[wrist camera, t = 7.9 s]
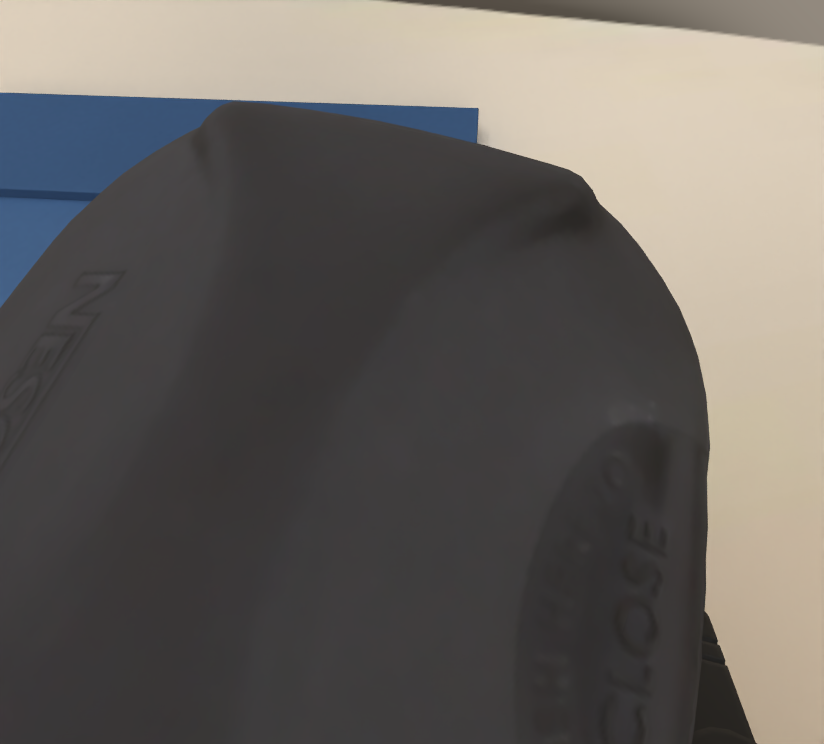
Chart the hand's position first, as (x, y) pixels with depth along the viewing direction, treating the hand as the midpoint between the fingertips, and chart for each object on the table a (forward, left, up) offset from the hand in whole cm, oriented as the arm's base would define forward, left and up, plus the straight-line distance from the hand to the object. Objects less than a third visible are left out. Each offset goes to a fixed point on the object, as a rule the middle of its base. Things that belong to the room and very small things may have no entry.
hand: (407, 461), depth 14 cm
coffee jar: (+1, +3, -9) cm, 9 cm away
